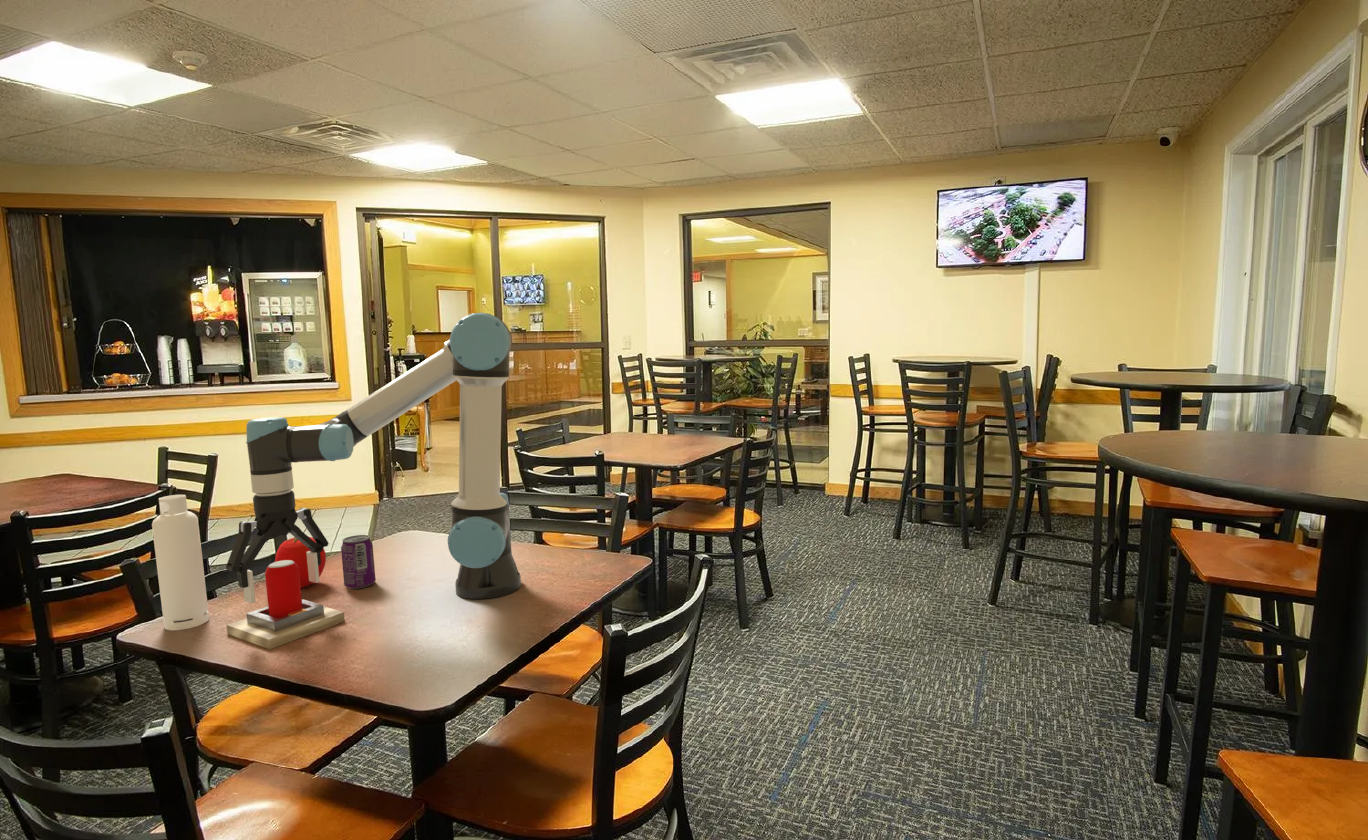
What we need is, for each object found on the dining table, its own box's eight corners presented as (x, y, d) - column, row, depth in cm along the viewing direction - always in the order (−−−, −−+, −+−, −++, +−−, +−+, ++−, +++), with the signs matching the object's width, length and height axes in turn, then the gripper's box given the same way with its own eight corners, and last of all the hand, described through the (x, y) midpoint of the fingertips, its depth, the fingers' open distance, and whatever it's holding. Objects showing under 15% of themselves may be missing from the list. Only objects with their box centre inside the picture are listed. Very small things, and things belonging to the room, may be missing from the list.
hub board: (344, 620, 156) (343, 612, 156) (269, 649, 143) (268, 639, 142) (302, 608, 165) (301, 599, 164) (227, 634, 151) (226, 624, 151)
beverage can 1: (302, 620, 152) (296, 564, 150) (268, 626, 149) (262, 569, 148) (304, 610, 157) (299, 557, 156) (271, 616, 155) (266, 561, 154)
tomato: (294, 579, 186) (289, 530, 184) (335, 578, 185) (331, 529, 184) (267, 594, 175) (262, 543, 173) (311, 593, 174) (306, 541, 173)
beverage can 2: (381, 580, 182) (377, 534, 181) (366, 590, 175) (362, 542, 174) (354, 580, 183) (350, 534, 182) (338, 590, 176) (334, 542, 175)
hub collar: (324, 614, 155) (323, 603, 155) (275, 631, 146) (273, 620, 146) (296, 606, 161) (295, 596, 160) (247, 622, 152) (246, 612, 151)
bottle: (217, 617, 161) (204, 493, 157) (182, 632, 153) (166, 502, 150) (191, 614, 163) (177, 492, 160) (155, 628, 156) (139, 500, 152)
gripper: (320, 479, 163) (328, 571, 165) (198, 503, 142) (210, 607, 144) (340, 482, 159) (348, 576, 161) (218, 506, 138) (230, 614, 140)
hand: (283, 591), depth 153 cm, fingers open, 13 cm apart
